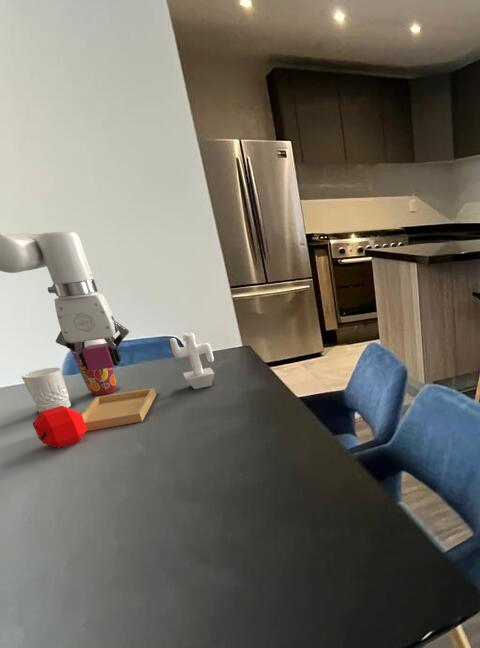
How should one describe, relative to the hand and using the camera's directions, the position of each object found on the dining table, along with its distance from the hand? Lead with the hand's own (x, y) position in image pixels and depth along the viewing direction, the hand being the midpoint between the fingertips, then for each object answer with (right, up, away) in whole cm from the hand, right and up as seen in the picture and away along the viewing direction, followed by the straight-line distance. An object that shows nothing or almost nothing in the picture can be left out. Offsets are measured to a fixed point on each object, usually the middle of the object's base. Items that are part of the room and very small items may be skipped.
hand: (103, 365), depth 118 cm
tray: (+1, -11, +5) cm, 12 cm away
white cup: (-19, -11, +10) cm, 24 cm away
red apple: (-1, -18, -10) cm, 21 cm away
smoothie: (-14, -6, +21) cm, 26 cm away
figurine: (+13, -4, +21) cm, 25 cm away
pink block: (0, 0, 0) cm, 0 cm away
